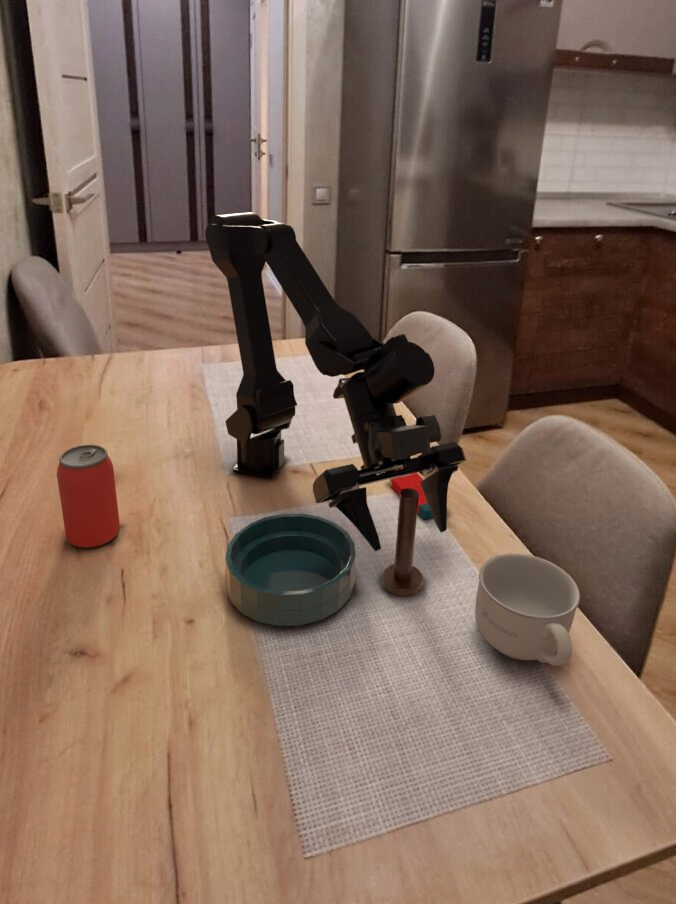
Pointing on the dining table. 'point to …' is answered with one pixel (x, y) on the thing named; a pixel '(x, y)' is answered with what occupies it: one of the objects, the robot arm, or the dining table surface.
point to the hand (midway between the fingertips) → (411, 540)
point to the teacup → (526, 607)
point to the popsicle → (414, 483)
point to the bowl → (290, 569)
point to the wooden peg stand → (404, 549)
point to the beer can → (88, 496)
